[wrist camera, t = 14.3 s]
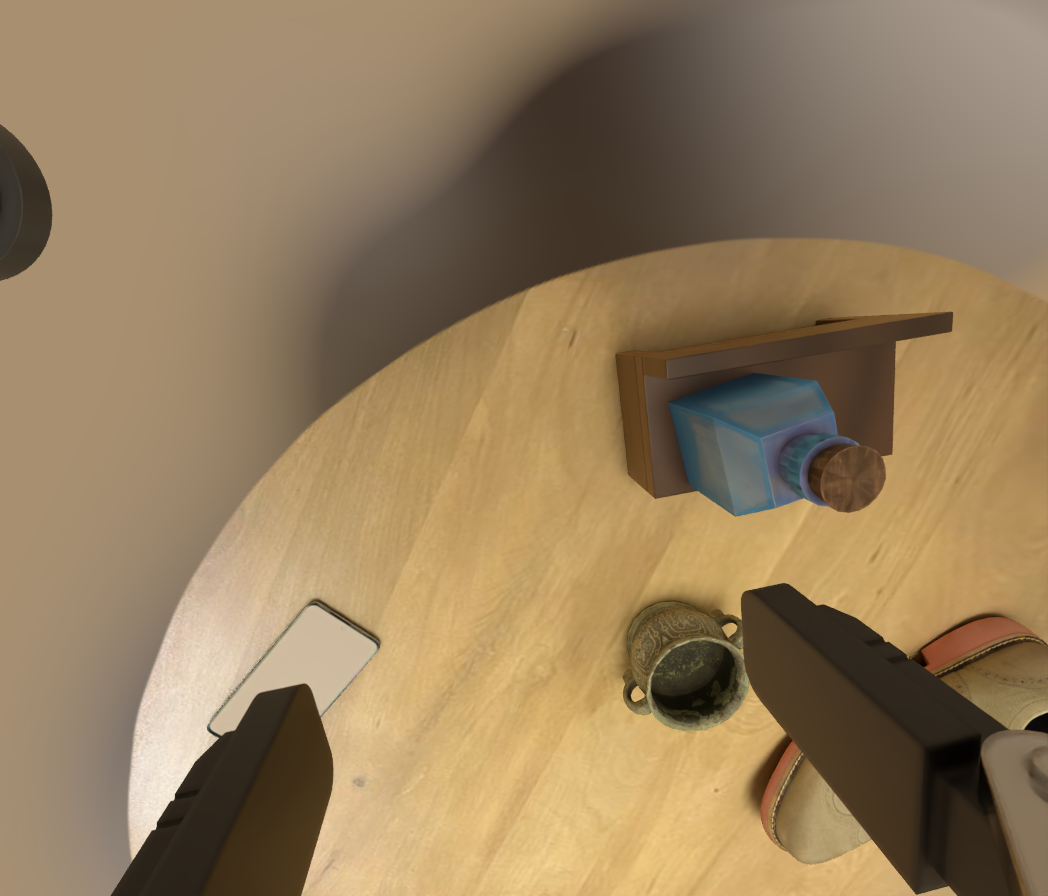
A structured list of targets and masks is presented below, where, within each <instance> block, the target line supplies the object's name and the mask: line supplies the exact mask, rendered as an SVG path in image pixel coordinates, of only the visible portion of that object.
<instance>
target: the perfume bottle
mask: <svg viewBox="0 0 1048 896" xmlns="http://www.w3.org/2000/svg"><path fill="white" fill-rule="evenodd" d="M668 404H669V408H670V412H671V416H672V420H673V424H674V427H675V431H676V435H677V439H678V443H679V447H680V451H681V455H682V459H683V463H684V467H685V471H686V475H687V478H688V482H689V485H690V486H691V487H693V488H694V489H696V490H697V491H699V492H700V493H702V494H703V495H705V496H706V497H708V498H709V499H710V500H712V501H713V502H715V503H716V504H718V505H719V506H721V507H722V508H724V509H725V510H727V511H728V512H729V513H731V514H732V515H734V516H735V517H736V516H741V515H746V514H750V513H755V512H760V511H765V510H769V509H774V508H778V507H780V506H783V505H786V504H789V503H792V502H794V501H797V500H800V499H803V498H805V499H807V500H809V501H811V502H813V503H815V504H817V505H819V506H828V507H831V508H833V509H835V510H836V511H838V512H846V513H849V512H854V511H859V510H861V509H863V508H865V507H866V506H868V505H869V504H870V503H871V502H873V501H874V500H875V499H876V498H877V496H878V495H879V493H880V492H881V490H882V488H883V485H884V482H885V479H886V467H885V464H884V461H883V458H882V457H881V456H880V455H879V453H878V452H877V451H875V450H873V449H872V448H870V447H867V446H860V445H859V444H858V443H857V442H855V441H853V440H852V439H850V438H847V437H843V436H839V435H838V434H837V428H836V422H835V416H834V412H833V410H832V408H831V406H830V404H829V402H828V401H827V399H826V397H825V395H824V393H823V391H822V389H821V387H820V386H819V384H818V382H817V381H815V380H808V379H800V378H792V377H784V376H776V375H768V374H761V373H751V374H748V375H745V376H743V377H740V378H737V379H734V380H731V381H728V382H725V383H722V384H720V385H717V386H714V387H711V388H708V389H705V390H702V391H699V392H697V393H694V394H691V395H688V396H685V397H682V398H679V399H676V400H674V401H671V402H668Z"/></svg>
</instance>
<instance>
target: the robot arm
mask: <svg viewBox="0 0 1048 896" xmlns="http://www.w3.org/2000/svg"><path fill="white" fill-rule="evenodd" d="M0 212H1V194H0ZM741 613H742V632H743V652H744V664H745V669H746V673H747V676H748V679H749V681H750V684H751V686H752V688H753V690H754V692H755V693H756V695H757V696H758V698H759V699H760V701H761V702H762V703H763V704H764V706H765V707H766V708H767V709H768V711H769V712H770V713H771V714H772V715H773V717H774V718H775V719H776V720H777V722H778V723H779V724H780V725H781V727H782V728H783V729H784V730H785V732H786V733H787V734H788V735H789V737H790V738H791V739H792V740H793V742H794V743H795V744H796V745H797V747H798V748H799V749H800V750H801V752H802V753H803V754H804V755H805V757H806V758H807V759H808V760H809V762H810V763H811V764H812V765H813V767H814V768H815V769H816V770H817V772H818V773H819V774H820V775H821V777H822V778H823V779H824V780H825V782H826V783H827V784H828V785H829V787H830V788H831V789H832V790H833V792H834V793H835V794H836V795H837V797H838V798H839V799H840V800H841V801H842V803H843V804H844V805H845V806H846V808H847V809H848V810H849V811H850V813H851V814H852V815H853V816H854V818H855V819H856V820H857V821H858V823H859V824H860V825H861V826H862V828H863V829H864V830H865V831H866V833H867V834H868V835H869V836H870V838H871V839H872V840H873V841H874V843H875V844H876V845H877V846H878V848H879V849H880V850H881V851H882V853H883V854H884V855H885V856H886V858H887V859H888V860H889V861H890V863H891V864H892V865H893V866H894V868H895V869H896V870H897V871H898V873H899V874H900V875H901V876H902V878H903V879H904V880H905V881H906V882H907V884H908V885H909V886H910V887H911V889H912V890H913V891H914V892H915V894H916V895H917V894H921V893H925V892H928V891H932V890H936V889H939V888H943V887H947V886H949V887H950V888H951V889H952V890H953V891H954V892H955V893H956V895H957V896H1048V734H1046V733H1042V732H1036V731H1030V730H1009V729H1008V728H1006V727H1005V726H1004V725H1002V724H1001V723H1000V722H998V721H997V720H995V719H994V718H993V717H991V716H990V715H989V714H987V713H986V712H984V711H983V710H982V709H980V708H979V707H978V706H976V705H975V704H973V703H972V702H971V701H969V700H968V699H967V698H965V697H964V696H962V695H961V694H960V693H958V692H957V691H956V690H954V689H953V688H951V687H950V686H949V685H947V684H946V683H945V682H943V681H942V680H941V679H939V678H938V677H936V676H935V675H934V674H932V673H931V672H930V671H928V670H927V669H925V668H924V667H923V666H921V665H920V664H919V663H917V662H916V661H914V660H913V659H910V660H909V659H908V658H907V656H906V654H905V653H903V652H902V651H901V650H899V649H898V648H897V647H895V646H894V645H892V644H891V643H890V642H885V641H884V639H883V637H881V636H880V635H879V634H877V633H876V632H875V631H873V630H872V629H871V628H869V627H868V626H866V625H865V624H864V623H862V622H861V621H860V620H858V619H857V618H855V617H852V616H850V615H848V614H845V613H843V612H841V611H838V610H836V609H833V608H831V607H829V606H826V605H824V604H823V605H818V606H817V605H815V604H814V603H813V602H811V601H810V600H809V599H807V598H806V597H805V596H804V595H802V594H801V593H800V592H798V591H797V590H796V589H795V588H793V587H792V586H790V585H789V584H786V583H782V584H777V585H772V586H767V587H763V588H758V589H753V590H748V591H745V592H744V593H743V594H742V597H741ZM332 785H333V759H332V753H331V750H330V746H329V743H328V740H327V737H326V734H325V731H324V727H323V724H322V721H321V718H320V715H319V711H318V708H317V705H316V702H315V699H314V696H313V693H312V690H311V688H310V687H309V686H308V685H307V684H305V683H303V684H298V685H293V686H289V687H284V688H279V689H274V690H270V691H265V692H260V693H259V694H257V695H256V696H255V697H254V699H253V700H252V702H251V704H250V706H249V707H248V709H247V711H246V712H245V714H244V716H243V718H242V719H241V721H240V723H239V724H238V726H237V728H236V730H234V731H229V732H225V733H224V734H223V735H222V736H221V737H220V738H219V739H218V740H217V741H216V742H215V743H214V744H213V745H212V746H211V747H210V748H209V749H208V750H207V751H206V752H205V753H204V754H203V755H202V756H201V757H200V758H199V759H198V760H197V761H196V762H195V763H194V765H193V767H192V768H191V770H190V771H189V773H188V774H187V776H186V778H185V779H184V781H183V782H182V784H181V786H180V787H179V789H178V790H177V792H176V793H175V799H174V801H170V803H169V804H168V806H167V808H166V809H165V811H164V812H163V814H162V816H161V817H160V819H159V820H158V822H157V828H156V830H153V831H151V833H150V834H149V836H148V838H147V839H146V841H145V842H144V844H143V846H142V847H141V849H140V850H139V852H138V853H137V855H136V857H135V858H134V860H133V861H132V863H131V864H130V866H129V868H128V869H127V871H126V872H125V874H124V876H123V877H122V879H121V880H120V882H119V883H118V885H117V887H116V888H115V890H114V891H113V893H112V895H111V896H301V894H302V891H303V888H304V884H305V881H306V877H307V874H308V871H309V867H310V864H311V860H312V857H313V854H314V850H315V847H316V843H317V840H318V837H319V833H320V830H321V826H322V823H323V820H324V816H325V813H326V809H327V806H328V803H329V799H330V796H331V791H332Z"/></svg>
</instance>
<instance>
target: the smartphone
mask: <svg viewBox="0 0 1048 896" xmlns="http://www.w3.org/2000/svg"><path fill="white" fill-rule="evenodd" d="M379 648H380V643H379V641H378V640H377V639H375V638H374V637H372V636H371V635H369V634H368V633H366V632H365V631H363V630H361V629H360V628H358V627H357V626H355V625H354V624H352V623H351V622H349V621H347V620H346V619H344V618H343V617H341V616H340V615H338V614H337V613H335V612H333V611H332V610H330V609H329V608H327V607H326V606H324V605H323V604H321V603H319V602H316V601H314V602H310V603H309V604H308V605H307V606H306V607H305V608H304V610H303V611H302V612H301V613H300V614H299V616H298V617H297V618H296V619H295V620H294V622H293V623H292V624H291V625H290V626H289V628H288V629H287V630H286V631H285V632H284V634H283V635H282V636H281V637H280V638H279V640H278V641H277V642H276V643H275V644H274V646H273V647H272V648H271V649H270V650H269V652H268V653H267V654H266V655H265V656H264V658H263V659H262V660H261V661H260V662H259V664H258V665H257V666H256V667H255V668H254V670H253V671H252V672H251V673H250V674H249V676H248V677H247V678H246V679H245V680H244V682H243V683H242V684H241V685H240V686H239V688H238V689H237V690H236V691H235V692H234V694H233V695H232V696H231V697H230V698H229V700H228V701H227V702H226V703H225V704H224V706H223V707H222V708H221V709H220V710H219V712H218V713H217V714H216V715H215V716H214V718H213V719H212V720H211V721H210V723H209V724H208V726H207V730H208V731H209V733H211V734H213V735H214V736H216V737H218V738H220V737H221V736H222V735H223V734H224V733H225V732H229V731H234V730H236V728H237V726H238V724H239V723H240V721H241V719H242V718H243V716H244V714H245V712H246V711H247V709H248V707H249V706H250V704H251V702H252V700H253V699H254V697H255V696H256V695H257V694H259V693H260V692H265V691H270V690H274V689H279V688H284V687H289V686H293V685H298V684H303V683H305V684H307V685H308V686H309V687H310V688H311V690H312V693H313V696H314V699H315V702H316V705H317V708H318V711H319V715H320V718H321V716H322V715H323V714H324V713H325V712H326V711H327V710H328V708H329V707H330V706H331V705H332V704H333V703H334V701H335V700H336V699H337V698H338V697H339V696H340V695H341V693H342V692H343V691H344V690H345V689H346V688H347V686H348V685H349V684H350V683H351V682H352V681H353V680H354V678H355V677H356V676H357V675H358V674H359V673H360V671H361V670H362V669H363V668H364V667H365V666H366V665H367V663H368V662H369V661H370V660H371V659H372V658H373V656H374V655H375V654H376V653H377V652H378V650H379Z"/></svg>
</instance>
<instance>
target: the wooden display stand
mask: <svg viewBox="0 0 1048 896" xmlns="http://www.w3.org/2000/svg"><path fill="white" fill-rule="evenodd" d="M952 322H953V312H938V313H918V314H898V315H879V316H859V317H839V318H829V319H823V320H817V321H816V326H812V327H806V328H800V329H794V330H788V331H782V332H776V333H770V334H764V335H758V336H752V337H746V338H740V339H734V340H728V341H722V342H716V343H710V344H704V345H698V346H692V347H686V348H680V349H674V350H668V351H662V352H656V353H653V352H642V351H629V352H623V353H617V354H616V362H617V371H618V381H619V390H620V399H621V409H622V418H623V427H624V437H625V446H626V455H627V465H628V474H629V476H630V477H631V478H632V479H634V480H635V481H636V482H637V483H638V484H639V485H640V486H641V487H643V488H644V489H645V490H646V491H647V492H648V493H649V494H650V495H652V496H653V497H654V498H655V499H656V498H662V497H667V496H672V495H678V494H683V493H688V492H694V491H697V490H696V489H694V488H693V487H691V486H690V485H689V482H688V478H687V475H686V471H685V467H684V463H683V459H682V455H681V451H680V447H679V443H678V439H677V435H676V431H675V427H674V424H673V420H672V416H671V412H670V408H669V404H668V402H671V401H674V400H676V399H679V398H682V397H685V396H688V395H691V394H694V393H697V392H699V391H702V390H705V389H708V388H711V387H714V386H717V385H720V384H722V383H725V382H728V381H731V380H734V379H737V378H740V377H743V376H745V375H748V374H751V373H761V374H768V375H776V376H784V377H792V378H800V379H808V380H815V381H817V382H818V384H819V386H820V387H821V389H822V391H823V393H824V395H825V397H826V399H827V401H828V402H829V404H830V406H831V408H832V410H833V412H834V416H835V422H836V428H837V434H838V435H839V436H843V437H847V438H850V439H852V440H853V441H855V442H857V443H858V444H859V445H860V446H867V447H870V448H872V449H873V450H875V451H877V452H878V453H879V455H880V456H887V455H892V448H893V415H894V382H895V349H896V341H901V340H906V339H912V338H918V337H924V336H930V335H936V334H942V333H948V332H951V331H952Z"/></svg>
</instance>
